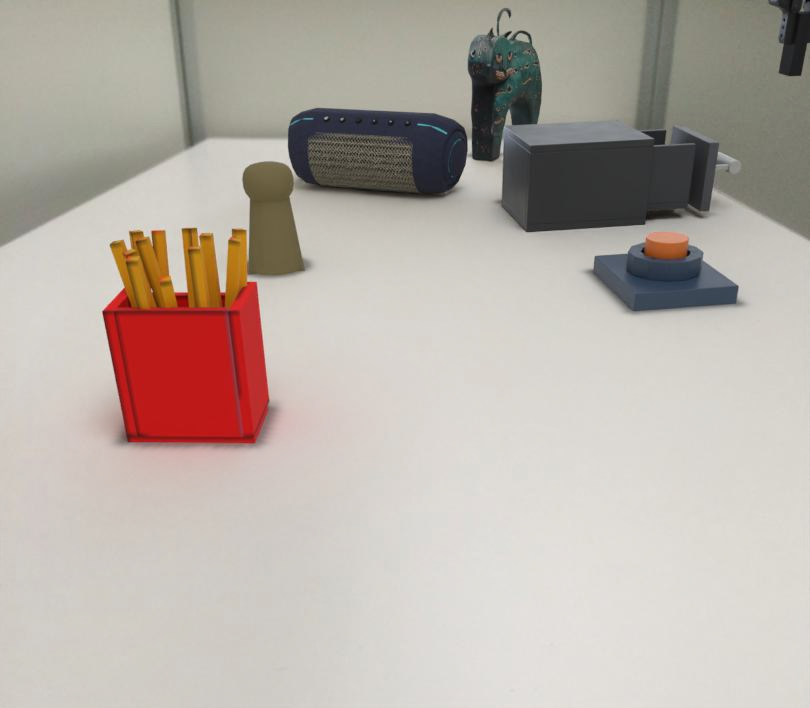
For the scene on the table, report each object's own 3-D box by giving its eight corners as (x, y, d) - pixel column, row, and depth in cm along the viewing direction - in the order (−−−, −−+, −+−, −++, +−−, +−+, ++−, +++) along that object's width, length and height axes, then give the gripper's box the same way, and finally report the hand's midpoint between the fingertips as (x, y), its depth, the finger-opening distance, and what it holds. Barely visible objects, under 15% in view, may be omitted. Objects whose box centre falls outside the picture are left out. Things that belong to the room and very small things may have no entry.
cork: (274, 259, 107) (264, 154, 101) (316, 268, 104) (308, 160, 98) (236, 274, 103) (223, 165, 97) (278, 283, 100) (268, 172, 94)
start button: (677, 248, 95) (679, 230, 94) (693, 260, 92) (695, 241, 91) (637, 250, 94) (639, 232, 94) (652, 263, 91) (655, 244, 90)
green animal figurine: (493, 164, 145) (497, 12, 134) (455, 160, 148) (456, 11, 137) (546, 140, 159) (554, 1, 148) (511, 137, 162) (516, 1, 151)
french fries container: (154, 408, 75) (122, 224, 67) (271, 409, 74) (252, 223, 67) (127, 450, 69) (88, 254, 61) (254, 451, 68) (231, 253, 61)
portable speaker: (278, 190, 134) (271, 112, 128) (311, 175, 141) (306, 101, 136) (448, 204, 125) (448, 122, 120) (473, 187, 133) (475, 108, 127)
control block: (685, 270, 101) (690, 231, 98) (735, 308, 91) (742, 266, 88) (592, 276, 99) (595, 237, 97) (633, 316, 89) (637, 274, 87)
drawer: (704, 187, 127) (713, 123, 122) (743, 209, 117) (754, 140, 113) (573, 195, 124) (577, 130, 120) (601, 218, 115) (607, 148, 111)
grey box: (610, 198, 126) (618, 119, 121) (645, 224, 116) (654, 138, 110) (501, 205, 124) (504, 125, 119) (526, 232, 114) (530, 145, 109)
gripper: (872, -170, 106) (824, 68, 119) (760, -168, 105) (724, 72, 117) (912, -174, 100) (857, 76, 113) (793, -173, 98) (752, 81, 111)
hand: (789, 74), depth 115 cm, fingers closed
